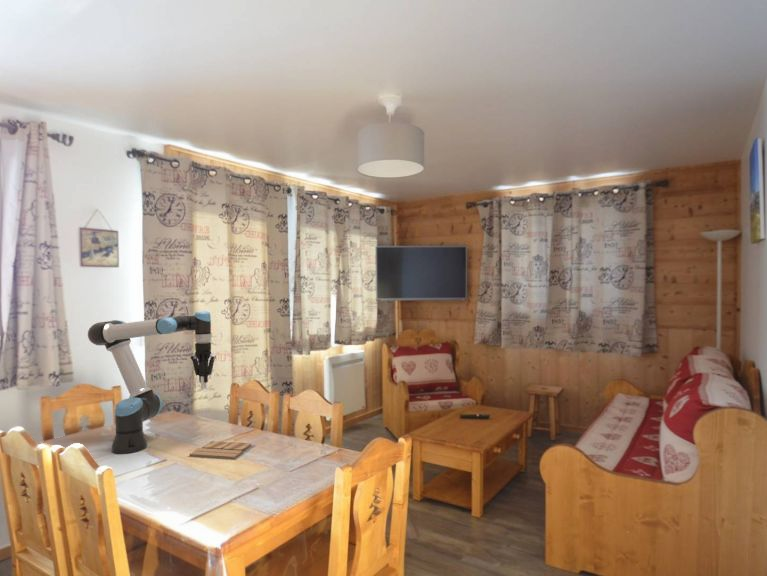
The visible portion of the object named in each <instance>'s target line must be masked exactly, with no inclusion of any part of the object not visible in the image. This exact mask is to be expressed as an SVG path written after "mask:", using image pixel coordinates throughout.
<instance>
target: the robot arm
mask: <svg viewBox="0 0 767 576" xmlns="http://www.w3.org/2000/svg"><path fill="white" fill-rule="evenodd" d="M211 318H212V317H211V312H209V311H196V312H195V313H194V315H182V314H181V315H174V316H171V317H170V316H169V317H163V318H162V317H161V318H155V319H154V318H153V319H148V320H141V321H133V322H132V321H131V322H125V321H123V320H117V319H116V320H113V319H112V320H108V321H101V322H96V323H94V324H91V326H90V327H89V329H88V330H87V338H88V340H89V341H90V343H92V344H94V345H96V346H104V347H105V349H106V351H108V352H111V354H112V356H113V358H114V361H115V364H116V365H117V368H118V371H119V372H120V375H121V378H122V379H123V381H124V384H125V386H126V389H127V390H128V393H129V397H128V398H124V399H122V400H119V401H118V402H117V403H116V405H115V409H114V413H115V415H114V416H115V436H114V439H113V442H112V445H111V452H112V453H113V454H118V455H119V454H121V455H123V454H131V453H132V454H133V453H136V452H141V451H143V450H145V449H146V448H147V447H148V441H147V438H146V435H145V433H144V428H143V427H144V422H145V421H148V420H150V419H152V418H154V417H156V416H157V415H159V414H160V412H161V411H162V409H163V400H162V397H161V396H160V395H159V394H157V393H155V392H154V391H153V389H152V388H151V387H148V385H147V383H146V380H145V379H144V376H143V373H142V371H141V369H140V366H139V364H138V363H137V360H136V358H135V355H134V353H133V351H132V348H131V342H132V341H131V339H134V338H141V337H148V336H159V335H168V334H173V333H178V332H185V331H186V332H187V331H192V332H193V331H194V340H195V341H194V342H195V344H194V350H195V352H194V354H193V355H192V356H190V359H191V361H192V364H193V369H194V374H195V375H196V376H198V378H199V383H200V390H205V389H207V383H208V382H209V381H208V379H209V375H211V374H212V372H213V368H214V367H213V366H214V363H215V360H216V358H217V356H216V355H213V354H212V343H211V341H212V331H211V330H212V329H211V328H212V327H211V324H212V319H211Z"/></svg>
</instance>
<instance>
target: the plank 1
mask: <svg viewBox="0 0 767 576" xmlns="http://www.w3.org/2000/svg"><path fill="white" fill-rule="evenodd" d="M231 442H232V441H216V440H212V441H210V442H208V443H206V444H205V445H203V446H202V447H201V448H208V449H222V448H224V447H225V446H227V445H228V444H230V443H231Z"/></svg>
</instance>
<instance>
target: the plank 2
mask: <svg viewBox="0 0 767 576" xmlns="http://www.w3.org/2000/svg"><path fill="white" fill-rule="evenodd" d="M230 442H231V443H230V444H228V445H227V446H225V447H224V448H222V449H224V450H240V451H245V450H246V449H247V448H249V447H250V446H251V445H252V443H251V442H236V441H233V442H232V441H230Z"/></svg>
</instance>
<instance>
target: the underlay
mask: <svg viewBox="0 0 767 576" xmlns="http://www.w3.org/2000/svg"><path fill="white" fill-rule="evenodd" d="M256 446H257V445H256V444H251V446H250V447H249V448H247V449H246V450H245V451H240V450H224V449H208V448H202V447H199V448H197V449H195V450H194V451H192V452H190V453H189V455H188V456H186V457H187V458H198V459H213V460H227V461H229V460H230V461H237V460H239V459H240V458H241V457H242V456H244V455H245V454H246V453H248V452H249V451H250V450H252V449H253V448H254V447H256Z"/></svg>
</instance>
